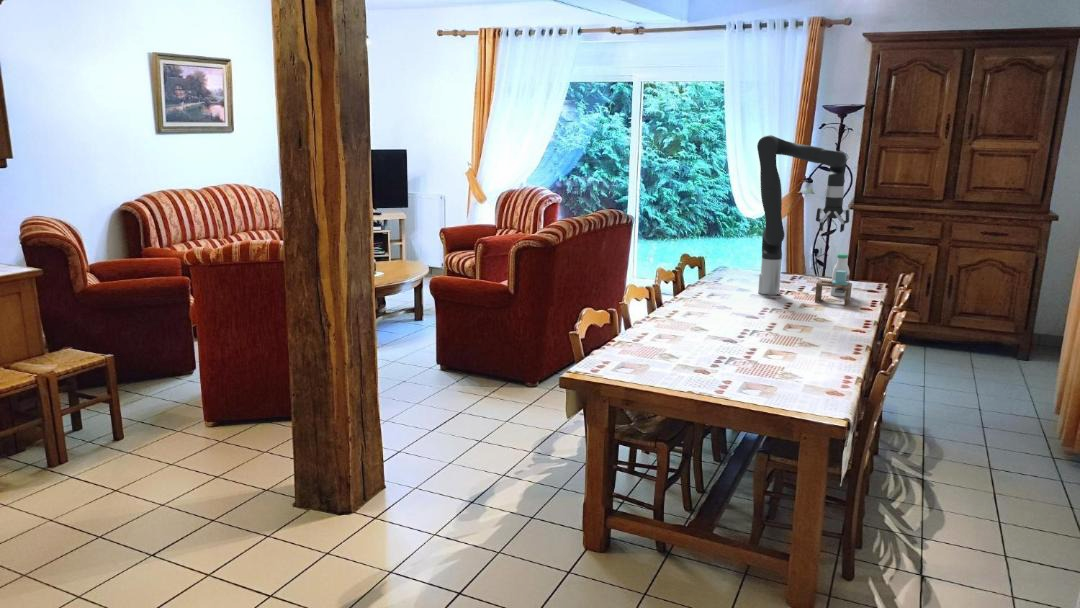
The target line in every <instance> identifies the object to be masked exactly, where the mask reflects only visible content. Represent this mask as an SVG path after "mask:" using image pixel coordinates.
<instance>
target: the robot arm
mask: <svg viewBox="0 0 1080 608" xmlns="http://www.w3.org/2000/svg"><path fill="white" fill-rule="evenodd" d="M756 145H757V154H758V159H759V169H760V175H759V176H760V196H761V203H762V208H763V211H764V215H765V216H764V217H765V227H764V229H763V231H762V237H761V238H762V241H761V266H760V273H759V280H758V294H761V295H765V294H768V296H769V295H770V296H776V295H777V294H778V295H779V294H780V287H781V274H782V273H781V271H782V261H783V250H782V249H783V242H784V239H785V230H784V224H783V217H782V205H783V204H782V203H783V202H782V199H783V198H782V195H783V194H782V183H781V178H780V174H779V171H778V168H777V155H783V156H788V157H791V158H795V159H799V160H801V161H805V162H810V163H814V164H821V165H825V166H828V167H829V174H828V178H827V186H826V191H825V201H824V203H825V204H824V208H822V207H818V208H817V209H816V215H815V221H816V222H818V223H819V230H820V232H823V231H824V223H825V222H824V221H826V220H827V218H828V219H835V220H836V219H838V220H839V222H840V229H839V232H840V233H843V232H844V231H845V224H848V223H849V222H850V211H851V210H850V209H843V204H844V197H845V196H844V194H845V193H844V192H845V191H844V189H845V173H846V168H847V161H848V157H847V154H846V153H845V152H843V151H837V150H830V149H825V148H823V147H818V146H813V145H809V144H808V145H807V144H802V143H795V142H791V141H788V140H785V139H781V138H779V137H777V136H774V135H773V134H768V135H763V136H762V137H761V138H760V139H759V140H758V142H757V144H756ZM822 213H824V214H825V215H823V216H822V218H820V217H821V214H822ZM842 214H844V215H845V220H844V218H843V217H842ZM778 295H777V296H778Z"/></svg>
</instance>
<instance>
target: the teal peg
mask: <svg viewBox="0 0 1080 608" xmlns="http://www.w3.org/2000/svg"><path fill="white" fill-rule="evenodd" d="M846 276H847V271H842V270H837V271H836V279H835V280H834V281H833V282H832V284H835V285H845V286H847V285H848V284H849V283H850V280H849V281H846ZM844 292H845V289H842V288H836V289H835V293H844Z"/></svg>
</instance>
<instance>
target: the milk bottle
mask: <svg viewBox="0 0 1080 608" xmlns="http://www.w3.org/2000/svg"><path fill="white" fill-rule="evenodd" d="M848 256H849V255H848V254H846V253H838V254H837V258H836V259H837V261H836V263H835V265H834V266H833V270H832V274H831V275H832V276H831V281H834V280H835V279H836V271H837V270H842V271H847V276H846V281H849V282H850V268H849V265H848V258H849V257H848ZM836 288H838V287H830V295H831V296H834V297H839V298H841V297H843V298H845V292H844V293H835V289H836ZM842 289H845V291H846V288H842Z"/></svg>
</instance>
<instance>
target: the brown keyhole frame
mask: <svg viewBox="0 0 1080 608" xmlns="http://www.w3.org/2000/svg"><path fill="white" fill-rule="evenodd" d="M832 282H833V281H832V280H824V279H820V280H818V281H817V282H816V285H815V295H814V297H815V298H814V303H819V302H820V301H821V300H822V292H823V287H829V288H831V287H838V288H846V291H845V297H844V302H843V303H844V305H845V306H846V307H847V306H849V304H850V303H851V299H852V298H851V295H852V288H853V287H852V286H853V283H852V282H849V284H848V285H847V286H845V285H835V284H832ZM844 305H843V306H844Z"/></svg>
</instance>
